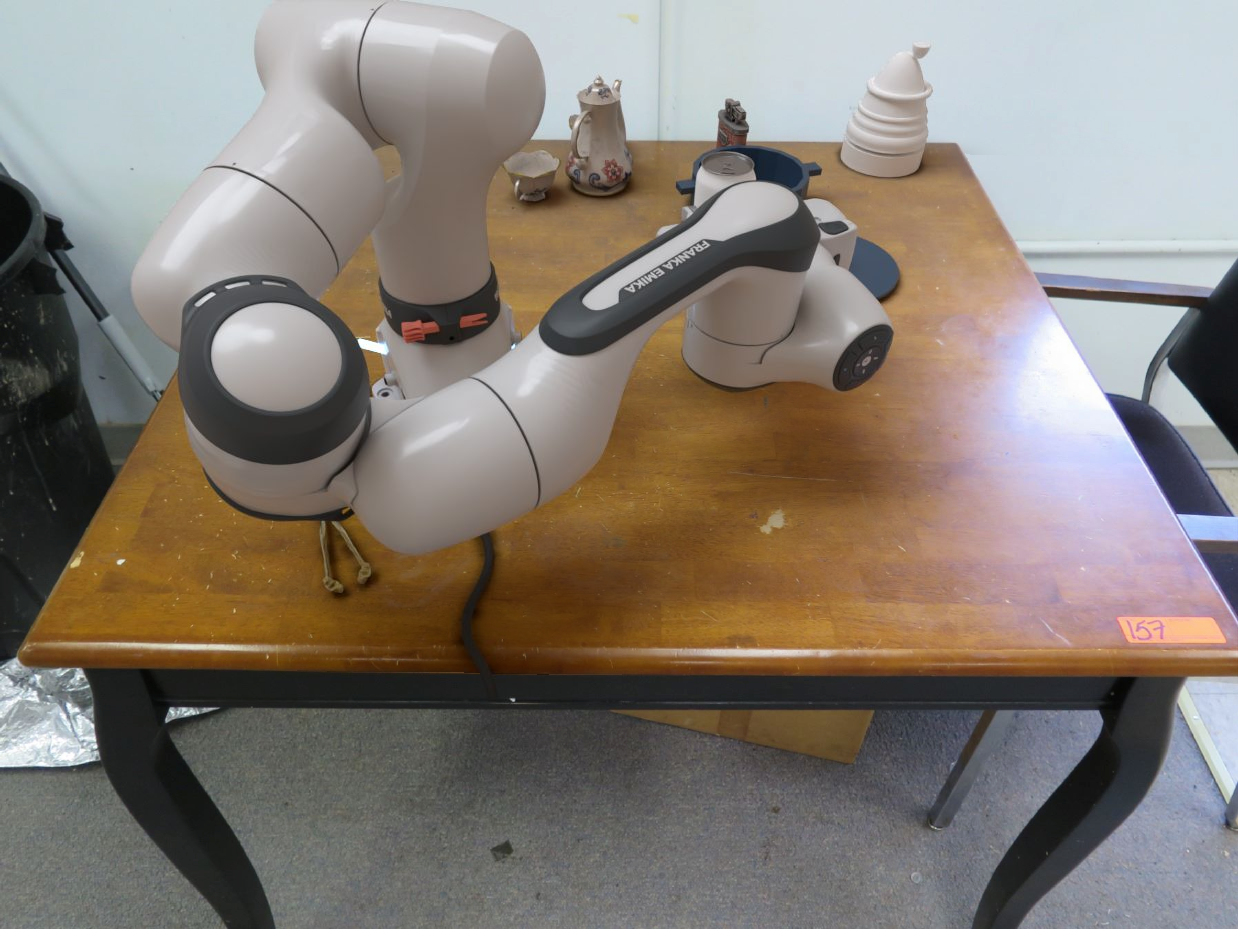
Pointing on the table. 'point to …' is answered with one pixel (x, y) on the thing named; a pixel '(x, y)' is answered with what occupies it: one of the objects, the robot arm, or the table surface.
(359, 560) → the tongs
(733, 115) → the lighter
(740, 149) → the pot
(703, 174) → the can
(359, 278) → the table surface
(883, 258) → the lid
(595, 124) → the chinaware
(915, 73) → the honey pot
